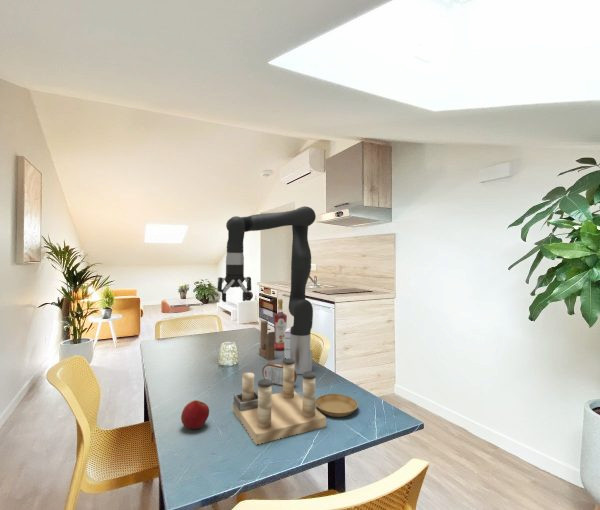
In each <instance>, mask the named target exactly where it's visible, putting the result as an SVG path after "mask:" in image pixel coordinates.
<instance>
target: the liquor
mask: <svg viewBox="0 0 600 510" xmlns="http://www.w3.org/2000/svg"><path fill="white" fill-rule="evenodd" d="M277 303H278V306H277V307H278V308H277V313H275V314H274V315H273V326H274V327H273V328H274V329H273V332H275V345H274V346H275V350H276V351H284V331H285V330H287V321H288V319H287V318H288V315H287V314H285V313H284V309H283V307H284V306H283V303H284V299H283V298H281V299H279V298H278V299H277Z"/></svg>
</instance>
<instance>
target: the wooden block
mask: <svg viewBox="0 0 600 510" xmlns="http://www.w3.org/2000/svg"><path fill="white" fill-rule="evenodd" d="M268 325H269V324H268V320H261V321H260V348H259V349H258V355H259V356H261V357H263V358H264V359H265V360H268V361H270V360H271V361H272V360H275V350H276V349H275V331H269V332H268V328H269V327H268Z"/></svg>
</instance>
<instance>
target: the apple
mask: <svg viewBox="0 0 600 510" xmlns="http://www.w3.org/2000/svg"><path fill="white" fill-rule="evenodd" d="M209 416H210V407H209V406H208V405H207V404H206V403H205V402H203V401H200V400H196V399H195V400H191V401H190V402H188V403H187V404H186V405H185V406H184V408H183V410H182V412H181V416H180V420H181V423H182V425H183V426H184V427H185V428H187V429H190V430H197V429H199V428H201V427H202V426H204V424H205V423H206V422H207V420H208V417H209Z"/></svg>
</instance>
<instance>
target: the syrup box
mask: <svg viewBox="0 0 600 510" xmlns="http://www.w3.org/2000/svg"><path fill="white" fill-rule="evenodd" d="M290 331H291V327H290V328H286V330H285V331H284V350H283V351H284V352H283V353H284V359H285V358H286V359H290Z"/></svg>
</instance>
